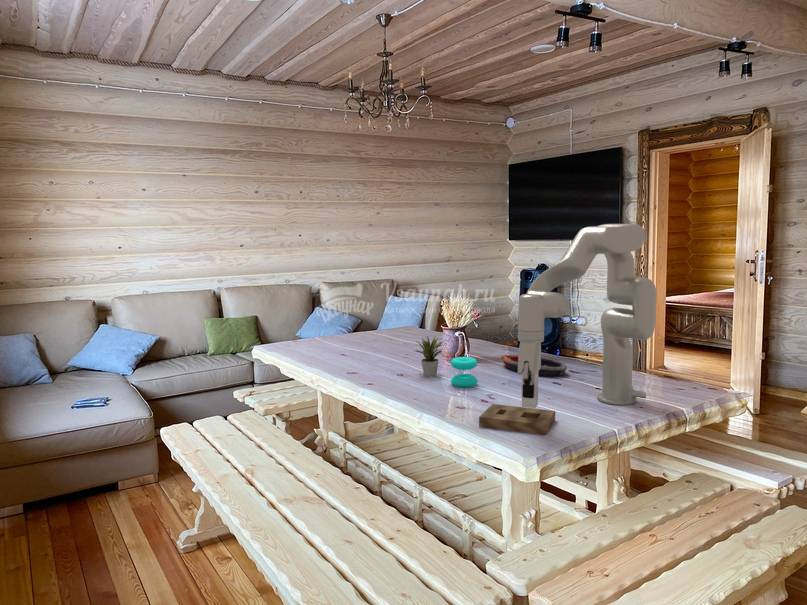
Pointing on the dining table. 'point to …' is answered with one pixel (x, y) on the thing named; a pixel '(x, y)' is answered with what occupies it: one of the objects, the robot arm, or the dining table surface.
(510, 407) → the walnut bore plate
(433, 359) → the house plant
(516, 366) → the dish
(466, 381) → the donuts
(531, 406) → the steel square peg
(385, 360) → the dining table surface
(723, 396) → the dining table surface
